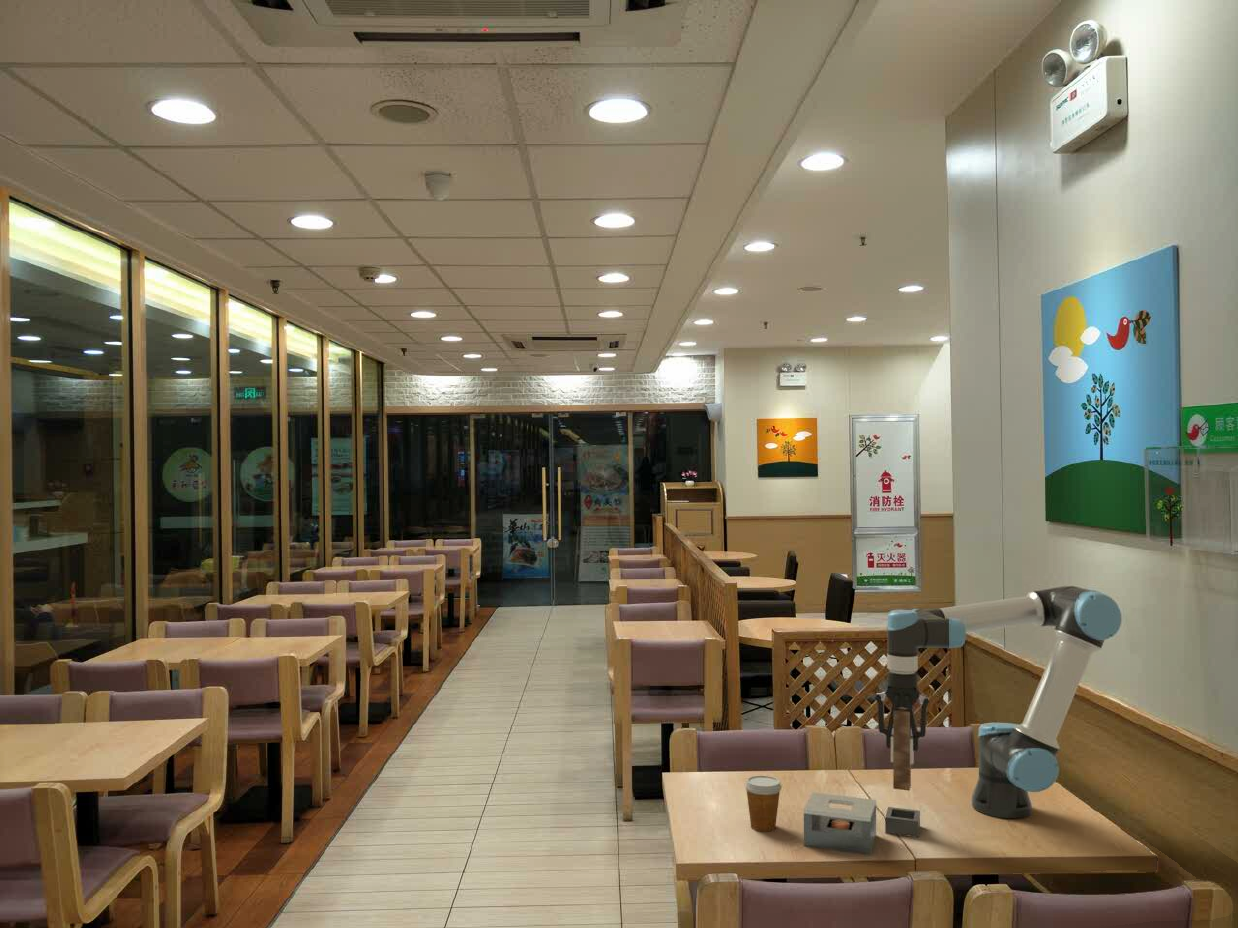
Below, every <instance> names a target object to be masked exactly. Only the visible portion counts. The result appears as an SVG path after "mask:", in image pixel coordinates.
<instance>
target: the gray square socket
mask: <svg viewBox="0 0 1238 928" xmlns="http://www.w3.org/2000/svg"><path fill="white" fill-rule="evenodd" d="M884 818H885V819H884V822H885V824H884V826H885V828H884V829H885V830H884V832H885V834H889V833H891V834H890V835H896V834H900V835H899V836H904V835H910V836H909V837H911V836H916V837H915V838H919V836H918V835H920V830H919V829H921V810H917V809H911V808H909V809H907V808H903V807H902V808H901V807H900V808H899V807H892V806H888V807H887V809H886V814H885V817H884Z"/></svg>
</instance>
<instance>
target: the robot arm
mask: <svg viewBox="0 0 1238 928" xmlns="http://www.w3.org/2000/svg"><path fill="white" fill-rule="evenodd" d="M1028 625H1033V626H1035V627H1036V628H1039V627H1040V628H1041V627H1055V628H1054V634H1055V636H1056V639H1057V640H1056V642H1055V644H1054V647H1053V648H1052V651H1051V653H1050V656H1049V659H1048V660H1047V663H1046V665H1045V668H1044V671H1043V673H1042V676H1041V678H1040V680H1039V682H1038V686H1037V687H1036V689H1035V692H1034V695H1033V696H1032V699H1031V701H1030V704H1029V706H1028V709H1027V711H1026V713H1025V716H1024V718H1023V722H1022V723H1019V724H1017V723H1010V722H985V723H983V724H981V725H980V726H979V727H978V735H977V738H978V741H977V742H978V746H977V748H978V752H977V753H978V779H977V782H976V785H975V787H974V790H973V792H972V796H971V807H972V808H973V809H974V810H976V812H977V811H978V812H980V813H982V814H984V815H987V816H992V817H997V818H1002V819H1022V818H1026V817H1030V816H1031V815H1032V811H1033V810H1032V808H1033V807H1032V802H1031V797H1030V796H1029V793H1040V792H1042V791H1045V790H1048V789H1049V788H1050V787H1052V786H1053V785H1054V784H1055V782H1056V781H1057V779H1058V777H1059V774H1060V773H1059V772H1060V768H1059V765H1058V764H1059V763H1058V760H1057V755H1058V753H1059V751H1060V745H1059V743H1058V741H1057V738H1058V735H1059V734H1060V730H1061V728H1062V726H1063V724H1064V722H1065V718H1066V716H1067V715H1068V711H1069V710H1070V706H1071V704H1072V701H1073V699H1074V697H1075V694H1076V692H1077V690H1078V688H1079V686H1080V685H1079V684H1080V683H1081V680H1082V678H1083V675H1084V672H1085V671H1086V668H1087V666H1088V663H1089V661H1090V658H1091V656H1092V654H1093V653H1095V652H1098V651H1101V649H1102V647H1103V646H1104V643H1105V641H1106V640H1109V639H1110V638H1111V637H1114V636H1115V635H1116V634H1117V633H1118V631H1119V630H1120V628H1121V625H1122V613H1121V609H1120V607H1119V605H1118V604H1117V602H1116V601H1115V600H1114V599H1113V598H1112V597H1110V596H1109V595H1107V594H1104V593H1102V592H1101V591H1097V590H1093V589H1092V590H1091V589H1088V588H1087V589H1086V588H1082V587H1079V586H1074V585H1073V586H1072V585H1066V586H1065V585H1064V586H1056V587H1053V588H1052V587H1051V588H1046V589H1041V590H1034V591H1029V592H1028V593H1027V595H1026V596H1019V597H1013V598H1012V597H1010V598H1004V599H997V600H991V601H990V600H989V601H982V602H976V603H970V604H969V603H967V604H963V605H954V606H947V607H941V608H932V609H921V608H914V609H911V610H910V609H893V610H890V611H889V612H888V615H887V625H886V632H887V634H886V635H887V639H886V640H887V654H886V657H887V658H886V665H887V666H886V669H887V670H888V671H887V672H886V673H887V674H886V676H887V677H886V680H887V681H886V683H887V684H886V689H885V691H883V692H876V694H875V699H876V702H877V708H878V709H877V710H878V712H877V713H878V731H879V733H880V734H883V735H885V737H886V740H885V741H886V743H885V744H886V745H885V746H886V748H887V749H890V763H893V736H894V733H893V730H894V710H897V707H898V708H899V707H902V708H907V711H908V712H910V725H911V737H910V764H911V766H913V765H914V760H915V759H914V757H915V755H914V752H918V749H919V739H920V738H925V736H926V730H927V729H926V728H927V712H928V711H927V708H928V706H929V703H930V697H929V696H924V695H922V694H920V691H919V689H918V688H919V687H918V686H919V684H918V683H919V681H918V678H919V677H918V672H917V671H918V669H919V668H918V665H919V664H918V661H919V655H918V654H919V651H918V650H919V649H920V648H921V649H924V648H925V649H926V648H927V649H928V648H929V649H931V648H933V649H935V648H937V649H953V648H954V649H956V648H961V647H963V646H964V644H965V642H966V639H967V638H966V637H967V634H969V633H970V634H971V633H977V632H982V631H984V632H985V631H990V630H991V631H992V630H999V629H1004V628H1012V627H1019V626H1028ZM886 697H887V699H888V700H889V702H890V703H891V704H892V705H891V708H890V709H891V710H890V714H889V719H888V722H887V723H888V724H887V727H886V726H885V704H884V702H885V701H886ZM918 700H919V704H920V705H921V708H920V709H921V710H920V726H919V727H920V729H919V731H918V726H917V722H916V717H915V712H914V707H913V706H914V704H915V703H916V702H917V701H918ZM1028 792H1029V793H1028Z"/></svg>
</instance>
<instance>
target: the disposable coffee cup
mask: <svg viewBox="0 0 1238 928" xmlns="http://www.w3.org/2000/svg"><path fill="white" fill-rule="evenodd" d="M744 788H745V790H746V796H747V805H748V812H749V814H748V815H749V822H750V828H751V829H753V830H754V831H758V832H772V831H774V830H775V829H776V827H777V815H778V808H779V800H780V793H781V789H782V784H781V781H780V779H779V778H777V777H773V776H770V775H751V776H749V777H748V778H746V780H745V782H744Z"/></svg>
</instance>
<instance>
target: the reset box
mask: <svg viewBox="0 0 1238 928" xmlns="http://www.w3.org/2000/svg"><path fill="white" fill-rule="evenodd" d="M831 804H835V805H844V806H851V809H846V808H845V809H844V808H836V807H830V805H831ZM833 820H845V821H848V822H849V823H850V830H844V829H837V828H831V822H832V821H833ZM876 837H877V799H872V798H871V799H870V798H864V797H863V798H862V797H853V796H846V795H839V794H837V795H836V794H831V793H830V794H829V793H821V792H815V791H813V792H811V794H810V797H809V799H808V800H807V802H806V804H805V806H804V808H803V847H810V848H816V849H817V848H818V849H825V850H830V851H831V850H832V851H838V852H839V851H840V852H845V853H852V854H860V855H865V856H866V855H867V856H871V855H872V852H873V848H874V844H875V842H876Z"/></svg>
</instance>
